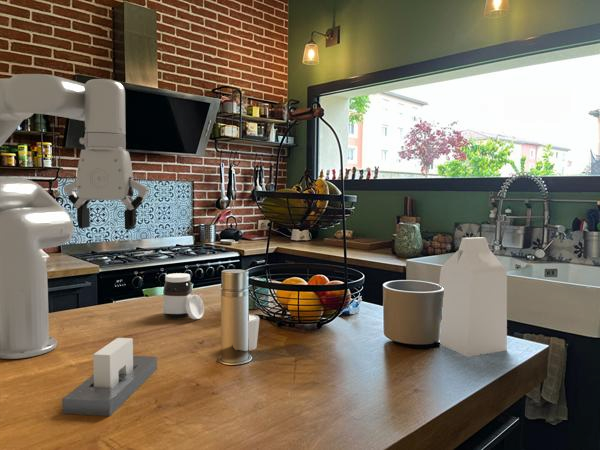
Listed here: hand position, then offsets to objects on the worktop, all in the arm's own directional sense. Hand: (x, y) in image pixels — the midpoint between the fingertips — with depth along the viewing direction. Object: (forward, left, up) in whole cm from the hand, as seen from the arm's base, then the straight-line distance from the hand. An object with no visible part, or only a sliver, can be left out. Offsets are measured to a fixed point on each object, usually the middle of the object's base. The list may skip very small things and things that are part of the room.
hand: (107, 228), depth 97 cm
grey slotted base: (+7, -12, -28) cm, 31 cm away
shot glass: (+26, +13, -28) cm, 41 cm away
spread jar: (+4, +36, -29) cm, 46 cm away
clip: (+7, -12, -28) cm, 31 cm away
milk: (+79, +21, -29) cm, 87 cm away
